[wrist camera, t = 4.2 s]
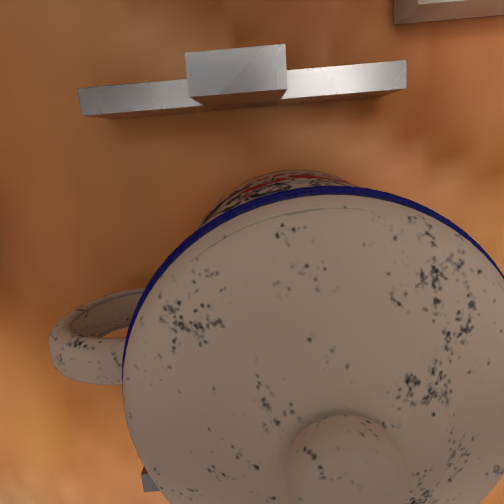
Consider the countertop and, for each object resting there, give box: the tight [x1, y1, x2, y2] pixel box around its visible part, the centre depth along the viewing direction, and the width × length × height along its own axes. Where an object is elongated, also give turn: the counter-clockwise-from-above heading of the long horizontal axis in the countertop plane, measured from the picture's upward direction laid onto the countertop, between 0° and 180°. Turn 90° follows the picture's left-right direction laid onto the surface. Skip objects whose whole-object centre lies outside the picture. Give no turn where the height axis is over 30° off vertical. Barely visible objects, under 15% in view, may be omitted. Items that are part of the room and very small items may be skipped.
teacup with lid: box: [49, 170, 504, 504], centre depth 13 cm, size 12×9×12 cm
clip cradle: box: [77, 44, 406, 492], centre depth 15 cm, size 10×15×6 cm, turn 4°
